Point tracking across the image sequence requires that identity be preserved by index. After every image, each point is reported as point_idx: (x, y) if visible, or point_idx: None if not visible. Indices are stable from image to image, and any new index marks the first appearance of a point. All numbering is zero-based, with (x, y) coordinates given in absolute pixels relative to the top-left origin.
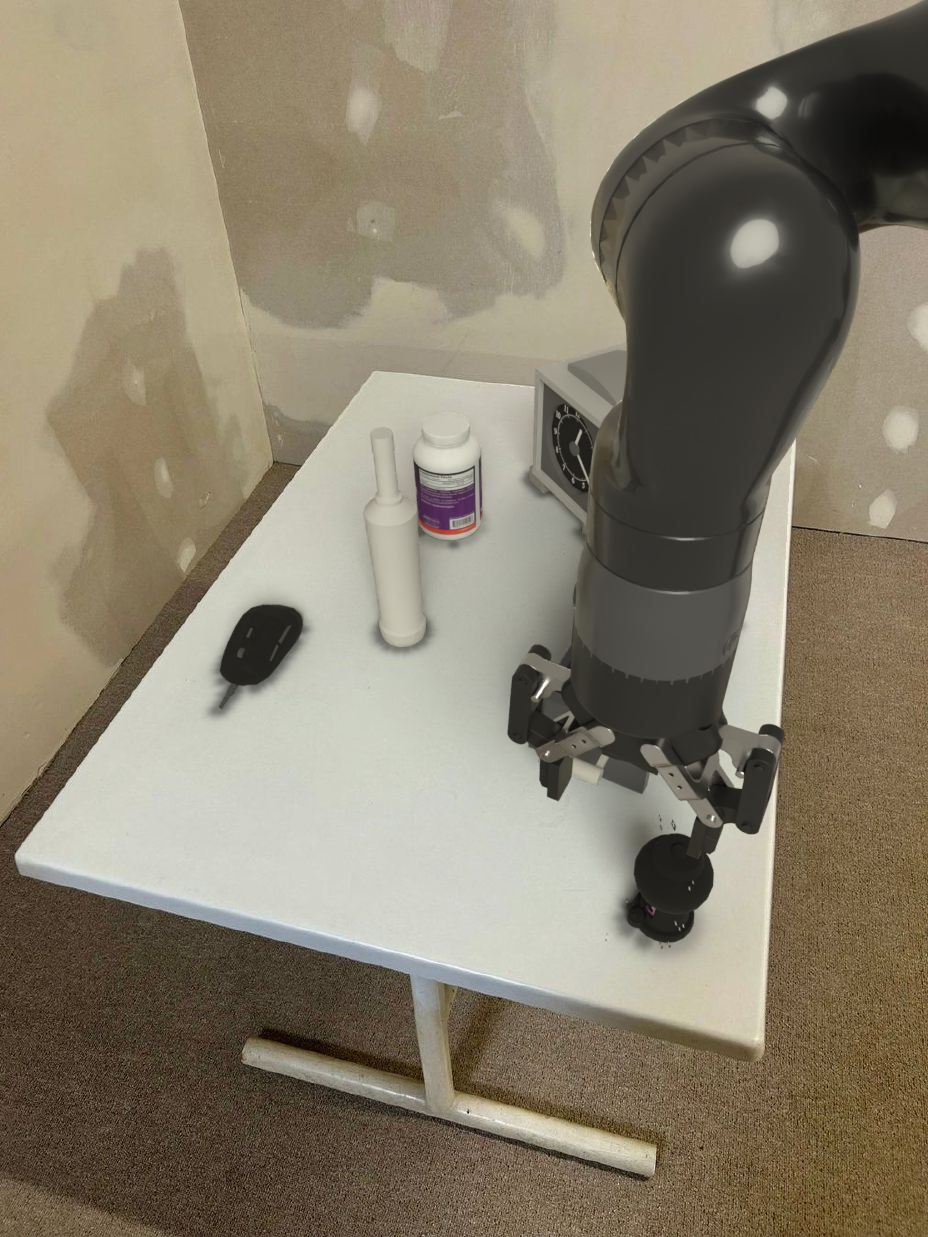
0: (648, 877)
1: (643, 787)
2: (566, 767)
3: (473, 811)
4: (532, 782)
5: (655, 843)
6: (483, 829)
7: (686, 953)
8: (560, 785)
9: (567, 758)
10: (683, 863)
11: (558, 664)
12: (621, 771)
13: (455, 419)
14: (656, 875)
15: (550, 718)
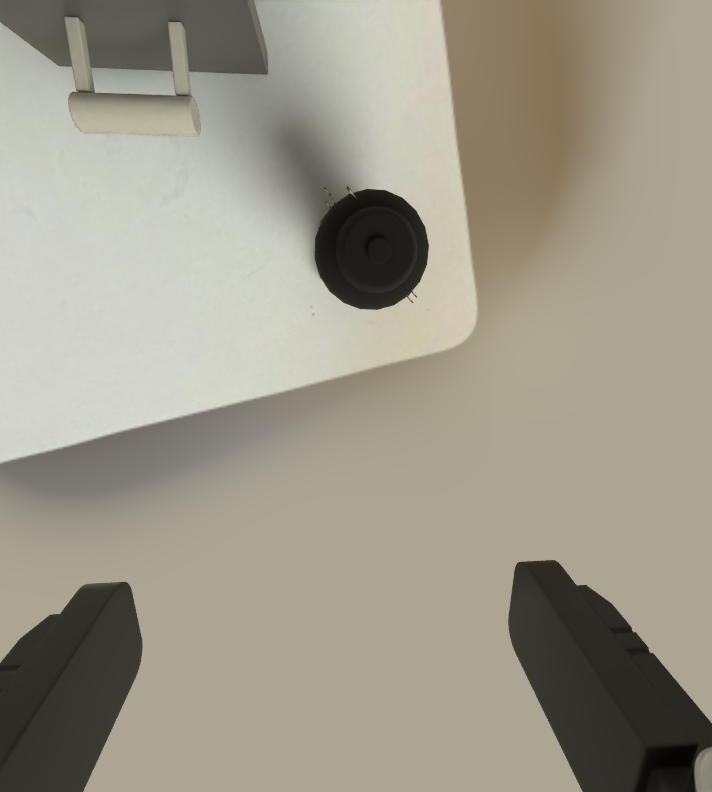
0: (346, 294)
1: (265, 66)
2: (73, 725)
3: (70, 226)
4: None
5: (337, 245)
6: (101, 246)
7: None
8: (108, 714)
9: (38, 783)
10: (391, 267)
11: None
12: (220, 56)
13: None
14: (356, 292)
15: (35, 13)
